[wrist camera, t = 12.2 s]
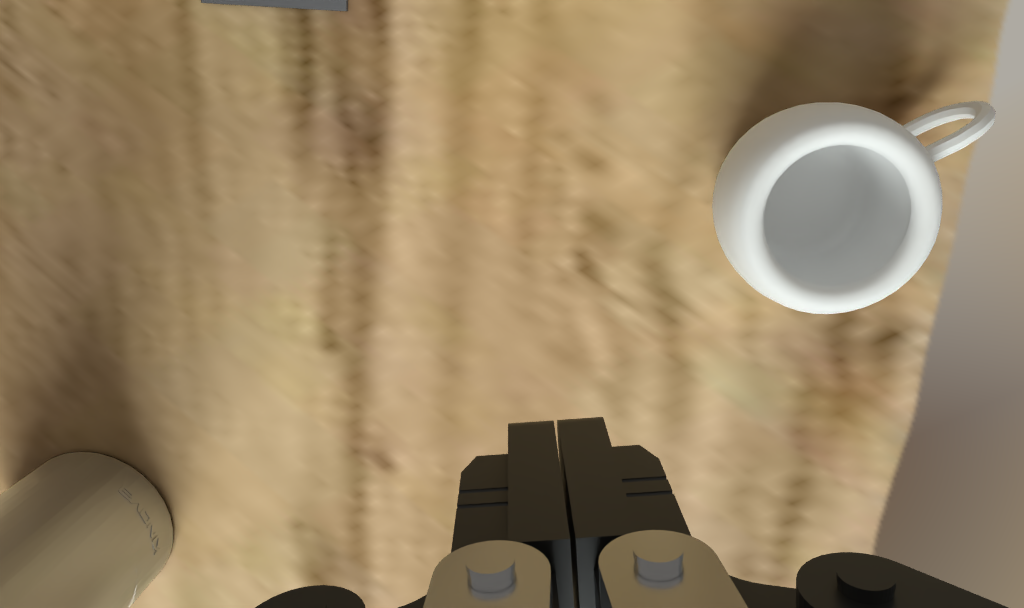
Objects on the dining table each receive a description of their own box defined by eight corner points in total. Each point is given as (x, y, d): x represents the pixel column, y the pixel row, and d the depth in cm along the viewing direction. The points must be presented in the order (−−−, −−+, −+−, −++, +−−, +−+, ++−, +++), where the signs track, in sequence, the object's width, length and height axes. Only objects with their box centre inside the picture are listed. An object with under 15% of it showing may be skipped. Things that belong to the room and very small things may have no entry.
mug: (750, 307, 39) (789, 362, 32) (667, 160, 38) (687, 181, 30) (986, 182, 37) (1089, 210, 29) (907, 18, 35) (995, 3, 28)
